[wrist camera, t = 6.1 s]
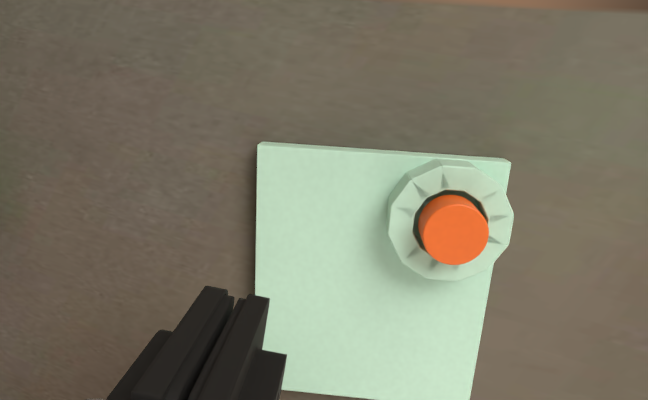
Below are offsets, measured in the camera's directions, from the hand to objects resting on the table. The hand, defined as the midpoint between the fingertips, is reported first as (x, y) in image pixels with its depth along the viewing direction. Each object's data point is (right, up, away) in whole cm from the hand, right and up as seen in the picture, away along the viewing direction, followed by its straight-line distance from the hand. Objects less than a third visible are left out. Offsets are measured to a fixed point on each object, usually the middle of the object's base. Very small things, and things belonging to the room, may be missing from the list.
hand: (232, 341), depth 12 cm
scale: (+5, -1, +15) cm, 15 cm away
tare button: (+9, +3, +11) cm, 14 cm away
